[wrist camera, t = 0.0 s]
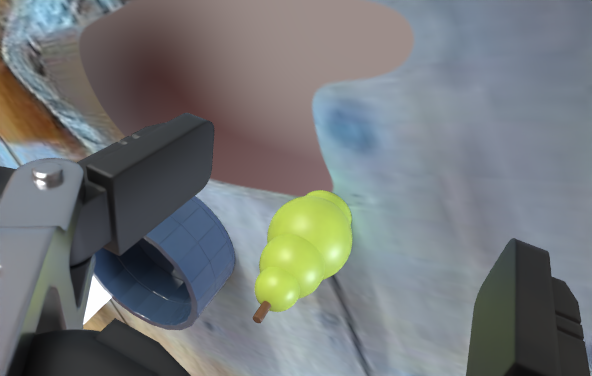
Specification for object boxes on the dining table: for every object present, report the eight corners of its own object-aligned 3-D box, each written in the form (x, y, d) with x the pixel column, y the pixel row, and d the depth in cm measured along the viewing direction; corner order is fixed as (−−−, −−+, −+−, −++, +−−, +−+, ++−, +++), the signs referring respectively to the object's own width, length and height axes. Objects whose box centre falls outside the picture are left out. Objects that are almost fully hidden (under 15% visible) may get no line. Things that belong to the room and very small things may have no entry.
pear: (296, 167, 33) (213, 264, 25) (373, 197, 32) (312, 312, 23) (286, 225, 37) (211, 326, 29) (354, 255, 36) (296, 371, 27)
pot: (118, 159, 43) (65, 193, 38) (238, 212, 39) (196, 257, 34) (132, 253, 51) (90, 291, 46) (231, 303, 48) (197, 350, 43)
